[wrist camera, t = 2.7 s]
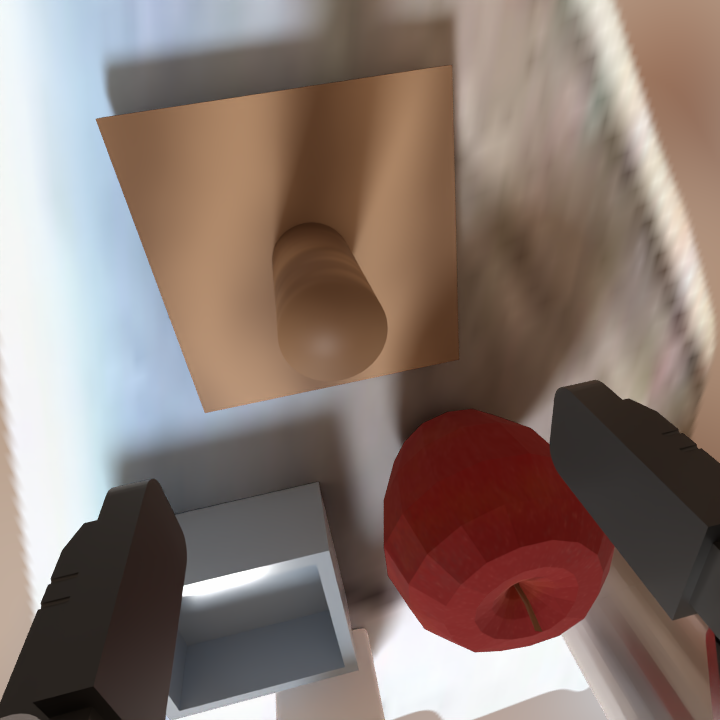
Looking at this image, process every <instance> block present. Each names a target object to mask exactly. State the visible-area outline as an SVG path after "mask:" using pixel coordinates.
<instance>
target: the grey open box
mask: <svg viewBox="0 0 720 720" xmlns="http://www.w3.org/2000/svg"><path fill="white" fill-rule="evenodd" d="M175 516H176V518H177V520H178V522H179V524H180V527H181V529H182V531H183V534H184V537H185V541H186V548H187V566H186V573H185V580H184V588H183V595H182V602H181V609H180V616H179V624H178V631H177V638H176V645H175V652H174V659H173V667H172V674H171V681H170V688H169V695H168V703H167V710H166V715H167V717H168V718H169V719H170V720H175V719H178V718H182V717H186V716H190V715H193V714H197V713H201V712H205V711H208V710H212V709H216V708H220V707H223V706H227V705H231V704H235V703H238V702H242V701H246V700H250V699H253V698H257V697H261V696H265V695H268V694H272V693H276V692H279V691H283V690H287V689H291V688H294V687H298V686H302V685H306V684H309V683H313V682H317V681H321V680H324V679H328V678H332V677H336V676H339V675H343V674H347V673H351V672H354V671H358V670H359V668H358V662H357V656H356V650H355V645H354V639H353V633H352V627H351V621H350V615H349V610H348V604H347V598H346V594H345V590H344V586H343V582H342V577H341V573H340V569H339V565H338V561H337V557H336V552H335V548H334V544H333V540H332V536H331V531H330V527H329V523H328V519H327V515H326V511H325V506H324V502H323V498H322V494H321V490H320V486H319V482H316V483H311V484H307V485H303V486H298V487H294V488H290V489H285V490H281V491H276V492H272V493H268V494H263V495H259V496H255V497H250V498H246V499H241V500H237V501H233V502H228V503H224V504H220V505H215V506H211V507H206V508H202V509H198V510H193V511H189V512H185V513H180V514H176V515H175Z"/></svg>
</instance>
